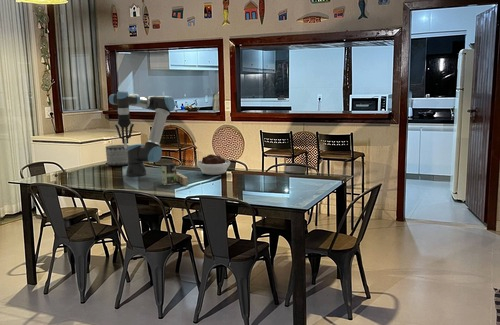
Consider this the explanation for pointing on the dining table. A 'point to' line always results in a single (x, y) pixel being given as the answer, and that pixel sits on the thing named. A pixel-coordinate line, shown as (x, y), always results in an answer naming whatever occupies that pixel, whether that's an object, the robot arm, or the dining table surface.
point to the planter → (116, 155)
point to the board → (182, 179)
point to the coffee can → (168, 173)
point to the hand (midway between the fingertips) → (125, 148)
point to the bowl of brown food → (213, 165)
